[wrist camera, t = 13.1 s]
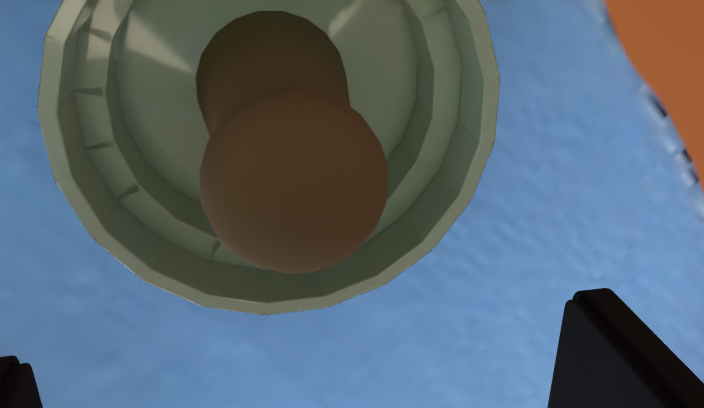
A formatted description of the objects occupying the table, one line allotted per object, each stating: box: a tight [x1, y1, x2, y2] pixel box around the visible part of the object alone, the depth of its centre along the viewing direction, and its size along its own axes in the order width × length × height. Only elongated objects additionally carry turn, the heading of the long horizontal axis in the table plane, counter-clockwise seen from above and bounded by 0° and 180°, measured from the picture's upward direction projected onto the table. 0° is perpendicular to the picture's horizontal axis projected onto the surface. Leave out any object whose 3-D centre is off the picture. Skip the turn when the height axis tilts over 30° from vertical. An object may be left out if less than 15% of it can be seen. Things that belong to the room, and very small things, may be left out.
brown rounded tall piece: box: [196, 11, 388, 274], centre depth 22 cm, size 6×6×11 cm
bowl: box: [37, 0, 500, 315], centre depth 25 cm, size 15×15×6 cm
